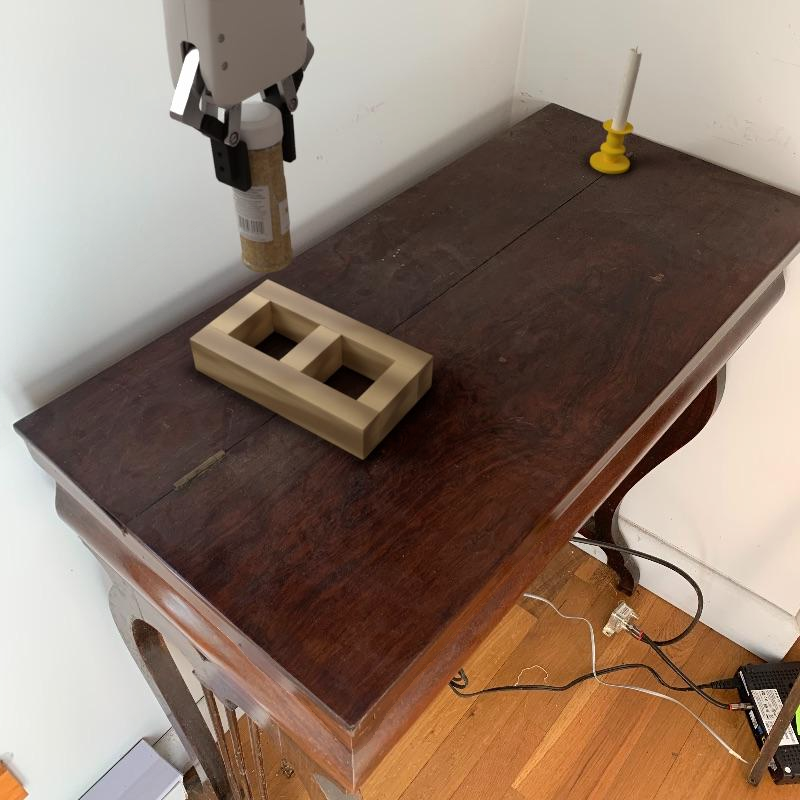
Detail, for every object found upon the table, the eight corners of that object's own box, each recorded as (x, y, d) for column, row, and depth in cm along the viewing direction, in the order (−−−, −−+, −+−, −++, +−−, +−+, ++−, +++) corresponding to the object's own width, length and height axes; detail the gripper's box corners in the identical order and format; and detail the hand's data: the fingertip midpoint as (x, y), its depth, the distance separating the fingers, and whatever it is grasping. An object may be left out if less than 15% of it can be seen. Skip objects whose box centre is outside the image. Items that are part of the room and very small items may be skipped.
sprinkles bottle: (304, 258, 70) (294, 111, 60) (265, 282, 68) (248, 132, 58) (268, 238, 72) (253, 92, 62) (229, 260, 70) (207, 112, 60)
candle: (623, 154, 109) (652, 37, 98) (633, 174, 105) (664, 55, 94) (585, 154, 109) (610, 37, 98) (594, 174, 105) (621, 55, 94)
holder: (363, 460, 70) (363, 430, 67) (195, 369, 78) (189, 338, 75) (431, 386, 77) (433, 356, 74) (271, 309, 84) (267, 278, 81)
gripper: (269, -127, 57) (288, 117, 70) (81, -69, 47) (144, 202, 60) (355, -108, 54) (358, 142, 67) (174, -42, 44) (219, 236, 57)
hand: (256, 168), depth 64 cm, fingers closed on sprinkles bottle, 4 cm apart
